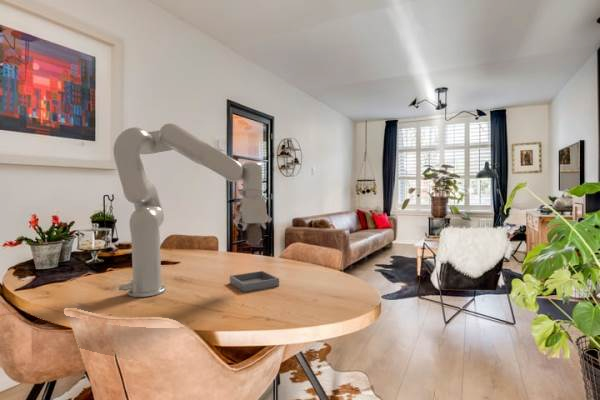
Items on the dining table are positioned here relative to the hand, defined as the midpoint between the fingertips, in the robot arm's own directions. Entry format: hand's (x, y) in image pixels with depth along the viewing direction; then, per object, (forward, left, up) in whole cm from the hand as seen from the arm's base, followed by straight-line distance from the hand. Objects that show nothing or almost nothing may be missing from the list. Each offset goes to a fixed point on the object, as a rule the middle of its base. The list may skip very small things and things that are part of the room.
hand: (253, 239), depth 131 cm
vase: (0, 0, -2) cm, 2 cm away
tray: (0, 0, -18) cm, 18 cm away
